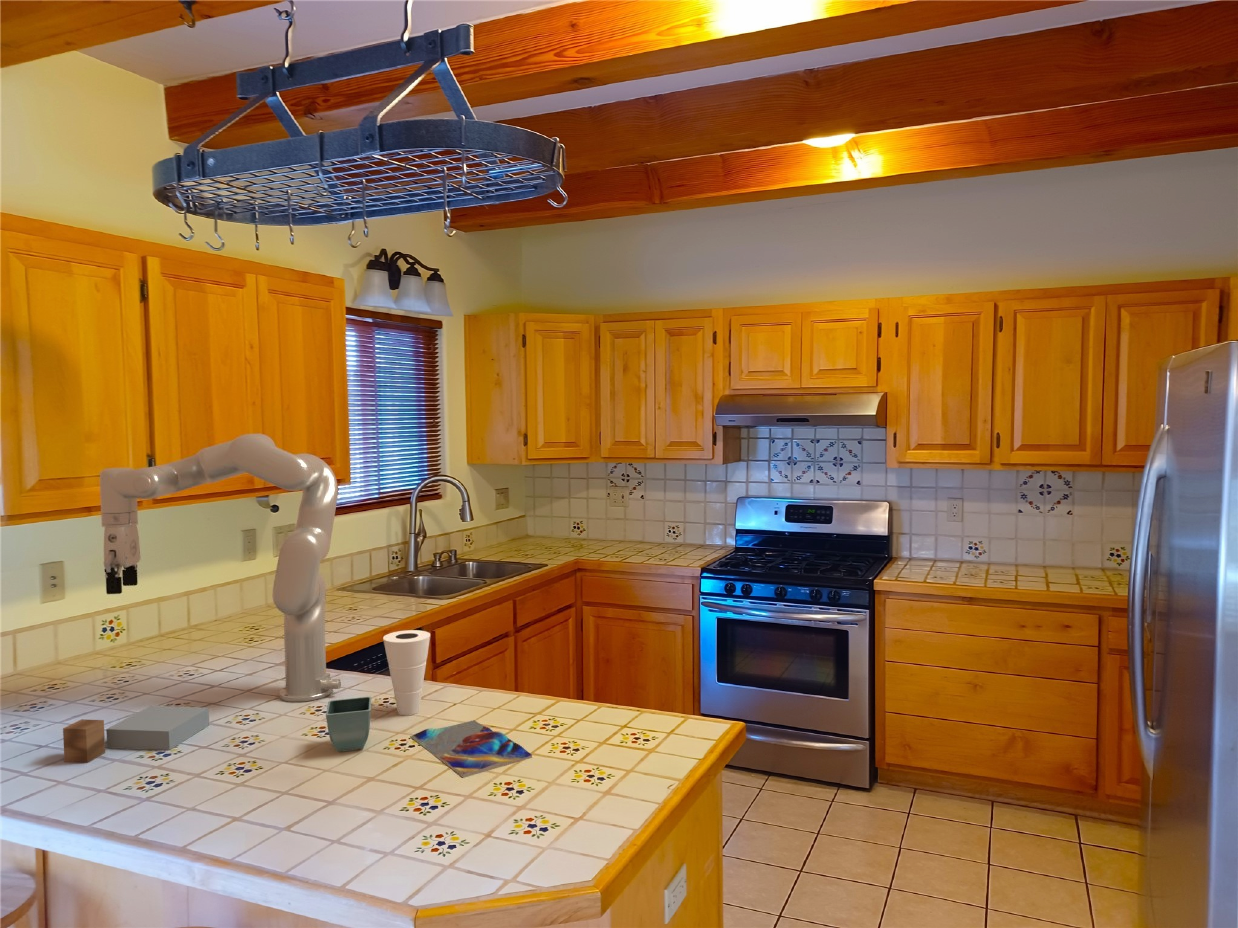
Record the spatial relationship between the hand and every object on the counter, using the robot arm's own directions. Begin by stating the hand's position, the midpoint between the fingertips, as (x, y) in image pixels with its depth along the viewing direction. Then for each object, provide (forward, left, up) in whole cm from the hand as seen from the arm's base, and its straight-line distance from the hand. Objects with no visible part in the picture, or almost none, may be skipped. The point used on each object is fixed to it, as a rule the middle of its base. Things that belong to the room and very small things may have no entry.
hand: (122, 589), depth 202 cm
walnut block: (-14, +32, -28) cm, 45 cm away
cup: (-71, +1, -28) cm, 77 cm away
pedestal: (-22, +20, -28) cm, 41 cm away
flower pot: (-66, +22, -28) cm, 75 cm away
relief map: (-91, +20, -29) cm, 98 cm away
